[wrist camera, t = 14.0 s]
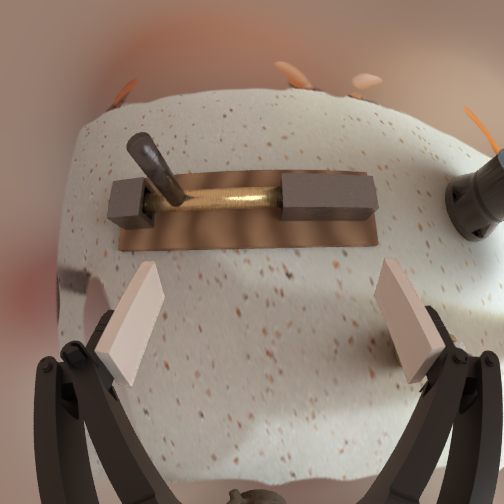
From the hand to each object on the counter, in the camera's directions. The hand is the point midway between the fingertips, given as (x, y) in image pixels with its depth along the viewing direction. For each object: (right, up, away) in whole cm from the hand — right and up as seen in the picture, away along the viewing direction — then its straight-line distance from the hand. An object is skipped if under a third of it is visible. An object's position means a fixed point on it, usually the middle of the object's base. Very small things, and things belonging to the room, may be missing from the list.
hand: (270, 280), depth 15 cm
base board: (-2, +9, +32) cm, 34 cm away
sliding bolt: (-8, +10, +29) cm, 32 cm away
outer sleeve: (+11, +10, +31) cm, 34 cm away
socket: (-21, +9, +32) cm, 39 cm away
